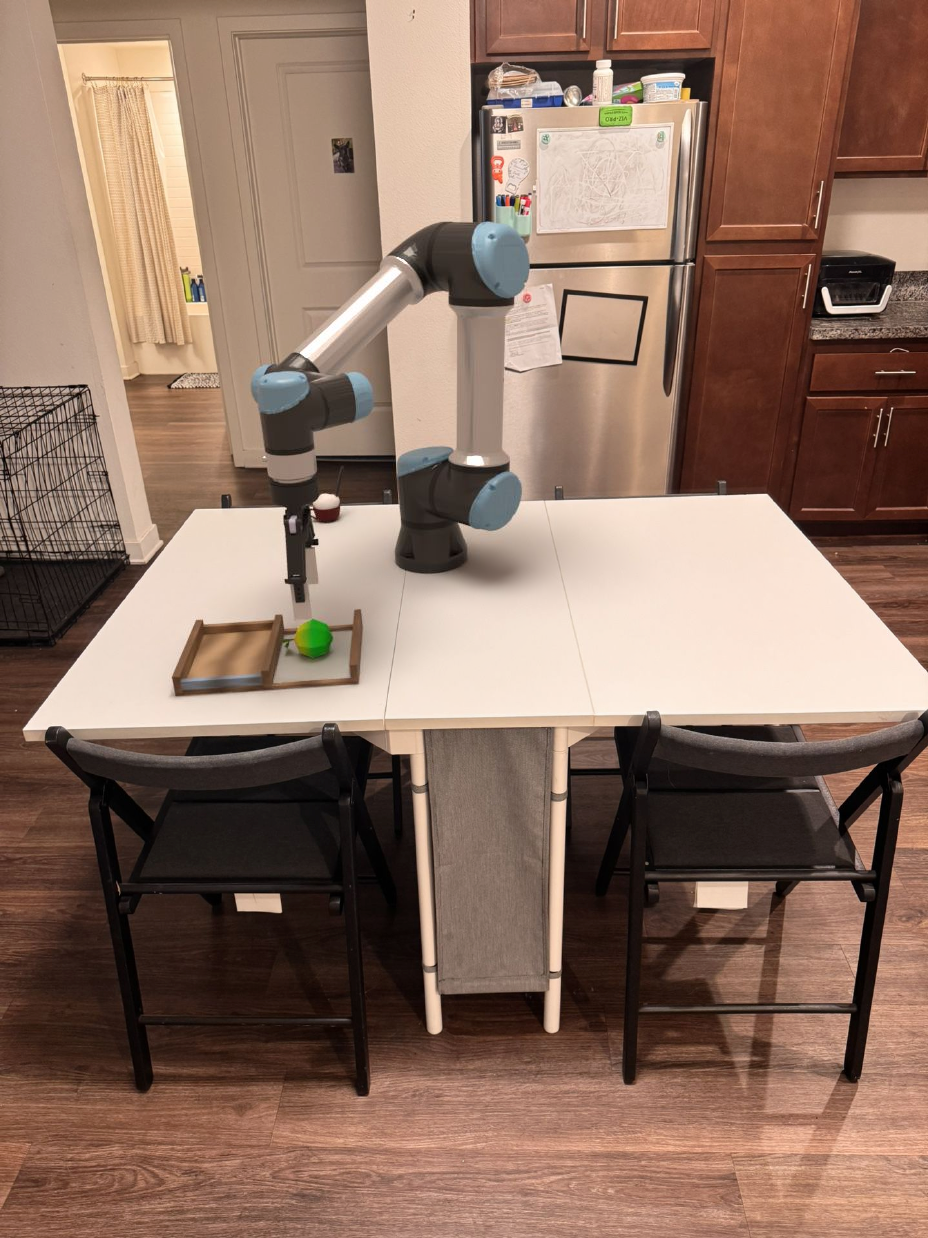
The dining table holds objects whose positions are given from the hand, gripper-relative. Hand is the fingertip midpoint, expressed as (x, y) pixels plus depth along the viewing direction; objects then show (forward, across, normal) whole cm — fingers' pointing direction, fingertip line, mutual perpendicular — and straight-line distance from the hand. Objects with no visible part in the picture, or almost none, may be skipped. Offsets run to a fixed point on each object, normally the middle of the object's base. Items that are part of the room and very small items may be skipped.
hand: (307, 600), depth 153 cm
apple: (+11, -2, -1) cm, 11 cm away
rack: (+11, 0, -7) cm, 13 cm away
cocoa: (+10, -66, -2) cm, 67 cm away
